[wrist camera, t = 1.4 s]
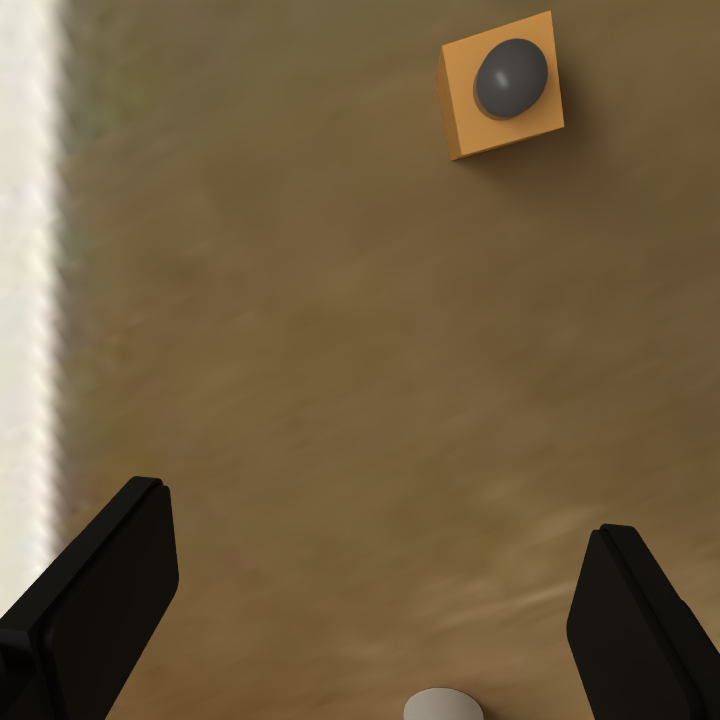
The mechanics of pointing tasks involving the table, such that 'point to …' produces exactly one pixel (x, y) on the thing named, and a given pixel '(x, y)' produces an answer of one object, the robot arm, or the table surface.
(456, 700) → the cylindrical container
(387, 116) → the table surface
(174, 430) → the table surface
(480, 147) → the plug
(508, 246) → the table surface
